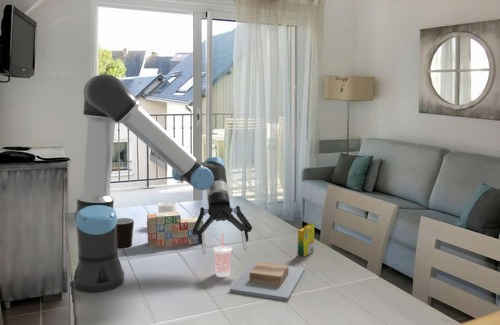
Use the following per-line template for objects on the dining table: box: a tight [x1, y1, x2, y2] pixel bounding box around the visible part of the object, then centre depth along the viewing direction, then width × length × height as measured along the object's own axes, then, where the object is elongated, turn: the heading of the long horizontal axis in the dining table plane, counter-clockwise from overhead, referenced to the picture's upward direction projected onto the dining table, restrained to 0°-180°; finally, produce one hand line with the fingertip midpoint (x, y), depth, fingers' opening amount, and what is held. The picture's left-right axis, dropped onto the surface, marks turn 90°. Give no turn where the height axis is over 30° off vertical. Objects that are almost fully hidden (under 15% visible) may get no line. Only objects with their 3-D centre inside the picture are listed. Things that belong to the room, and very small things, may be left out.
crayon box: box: [297, 222, 315, 258], centre depth 171 cm, size 7×3×12 cm, turn 141°
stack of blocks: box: [146, 211, 204, 249], centre depth 182 cm, size 21×6×12 cm, turn 107°
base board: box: [229, 261, 305, 302], centre depth 146 cm, size 24×18×1 cm
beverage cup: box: [213, 232, 233, 278], centre depth 150 cm, size 6×6×14 cm
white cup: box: [157, 201, 177, 213], centre depth 205 cm, size 8×8×10 cm
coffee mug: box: [117, 217, 135, 250], centre depth 179 cm, size 12×9×10 cm
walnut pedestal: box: [250, 261, 289, 286], centre depth 146 cm, size 10×10×4 cm
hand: (225, 251), depth 150 cm, fingers open, 13 cm apart
